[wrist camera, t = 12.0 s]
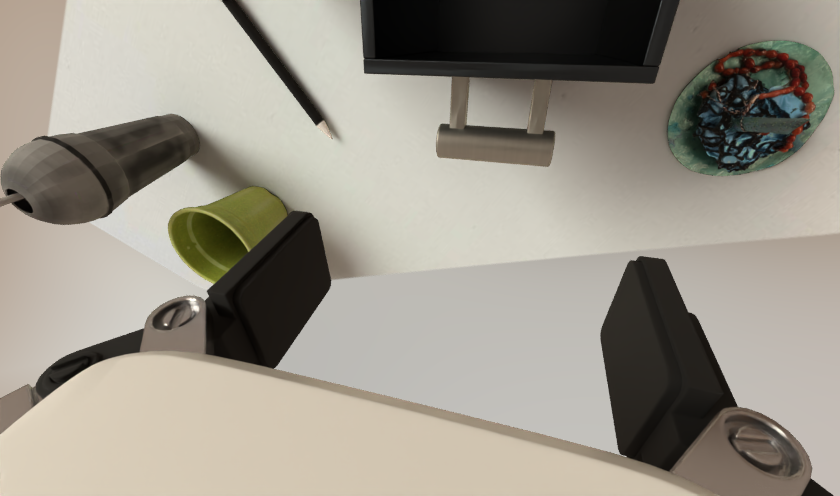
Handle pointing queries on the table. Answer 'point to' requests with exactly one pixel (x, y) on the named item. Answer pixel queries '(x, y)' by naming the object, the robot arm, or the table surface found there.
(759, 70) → the dish
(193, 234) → the plant pot
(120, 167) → the beverage cup
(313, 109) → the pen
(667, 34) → the bin
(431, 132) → the table surface
